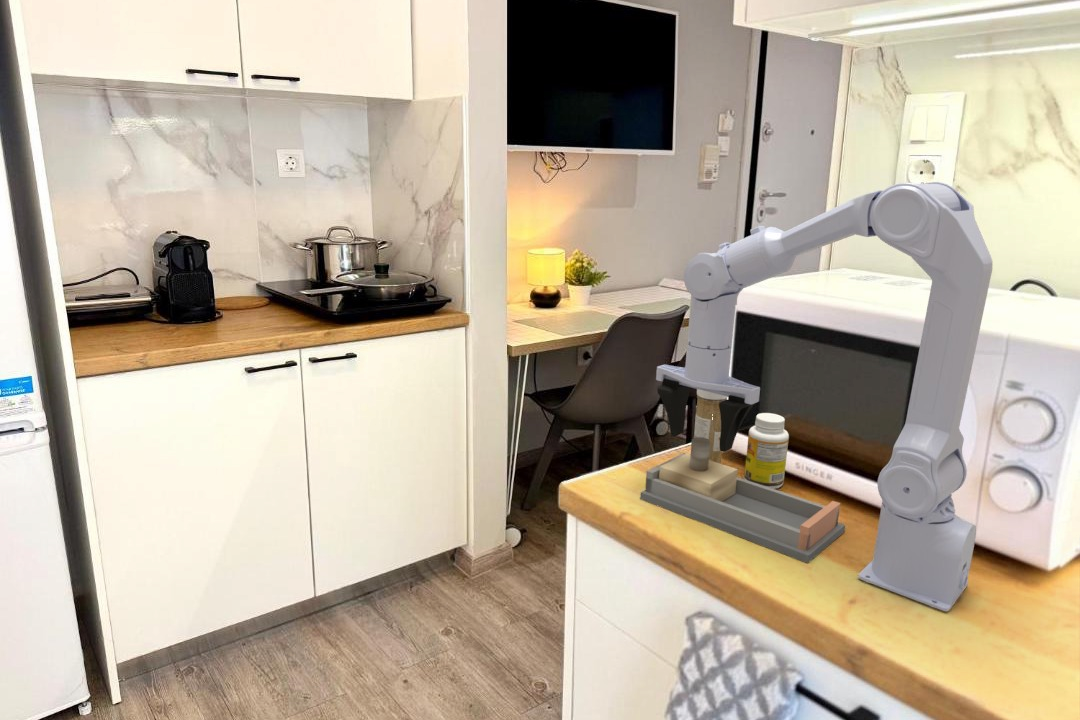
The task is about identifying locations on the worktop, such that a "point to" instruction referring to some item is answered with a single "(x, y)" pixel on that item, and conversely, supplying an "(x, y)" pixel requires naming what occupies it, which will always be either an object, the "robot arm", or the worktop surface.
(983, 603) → the worktop surface
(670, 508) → the tray
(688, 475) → the beige knobbed block
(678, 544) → the worktop surface
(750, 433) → the supplement bottle
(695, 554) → the worktop surface
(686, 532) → the worktop surface
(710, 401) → the brown spice jar
